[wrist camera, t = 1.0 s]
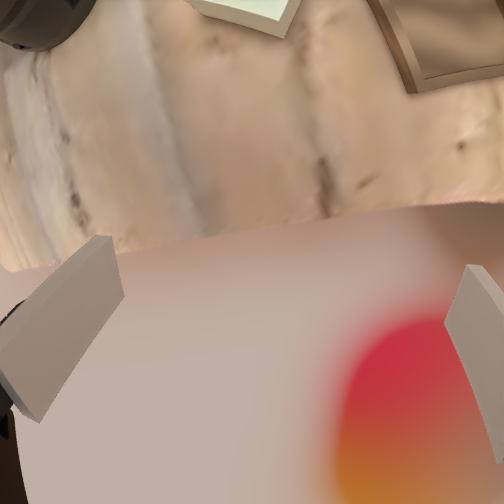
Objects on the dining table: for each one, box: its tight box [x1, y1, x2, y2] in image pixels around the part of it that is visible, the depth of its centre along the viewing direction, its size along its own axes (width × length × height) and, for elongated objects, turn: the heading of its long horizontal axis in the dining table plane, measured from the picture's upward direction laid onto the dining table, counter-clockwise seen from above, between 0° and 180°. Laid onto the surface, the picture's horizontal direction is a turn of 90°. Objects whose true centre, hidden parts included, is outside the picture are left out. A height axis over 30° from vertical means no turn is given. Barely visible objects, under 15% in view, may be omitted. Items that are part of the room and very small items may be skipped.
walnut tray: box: [367, 0, 504, 93], centre depth 17 cm, size 16×16×3 cm
